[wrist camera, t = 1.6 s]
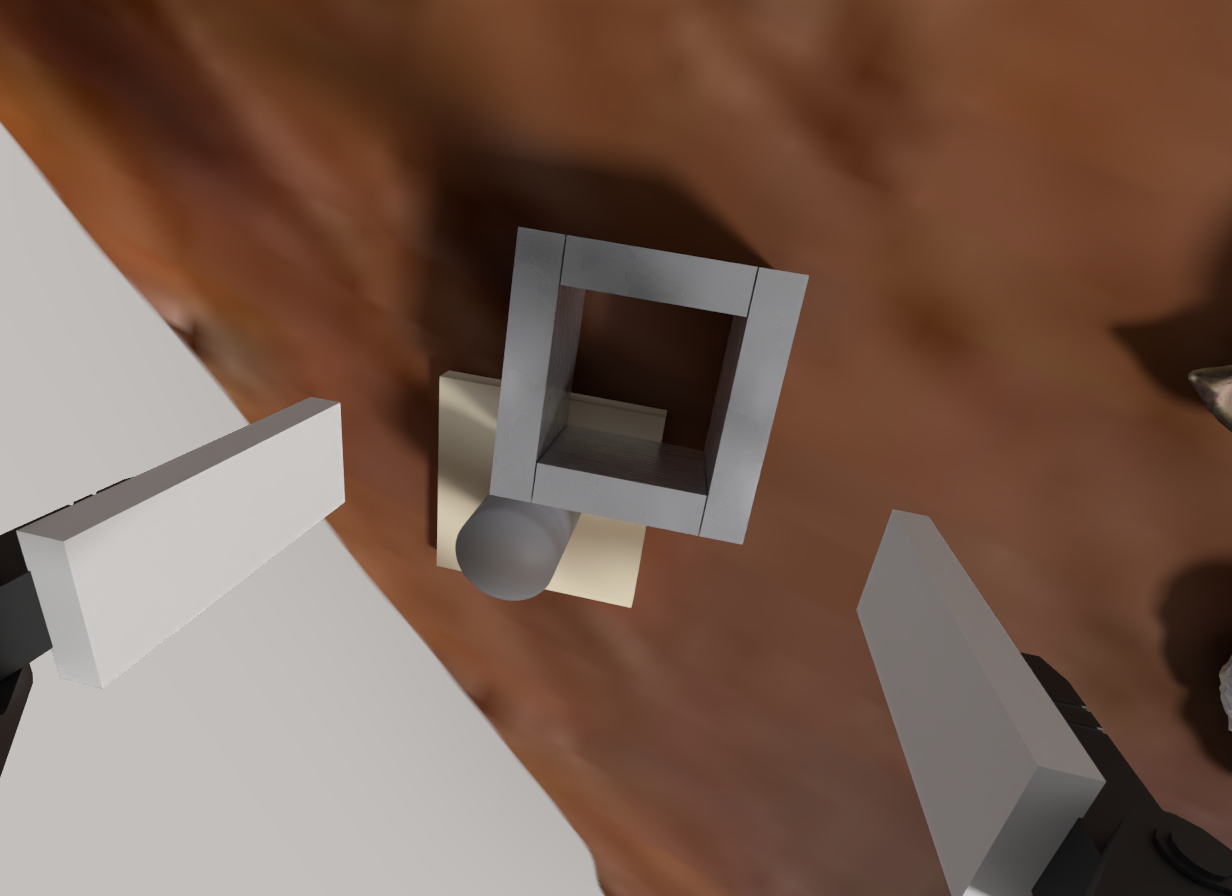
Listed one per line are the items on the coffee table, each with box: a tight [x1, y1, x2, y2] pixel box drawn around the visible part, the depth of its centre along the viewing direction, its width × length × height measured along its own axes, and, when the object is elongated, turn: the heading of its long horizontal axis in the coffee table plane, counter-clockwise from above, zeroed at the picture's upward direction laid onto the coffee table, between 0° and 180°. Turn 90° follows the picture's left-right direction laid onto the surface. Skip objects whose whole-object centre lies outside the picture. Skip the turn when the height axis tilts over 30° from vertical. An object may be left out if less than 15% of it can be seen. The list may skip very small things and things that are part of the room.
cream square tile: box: [437, 370, 667, 608], centre depth 26 cm, size 10×10×6 cm
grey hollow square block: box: [489, 227, 809, 545], centre depth 22 cm, size 9×9×6 cm
